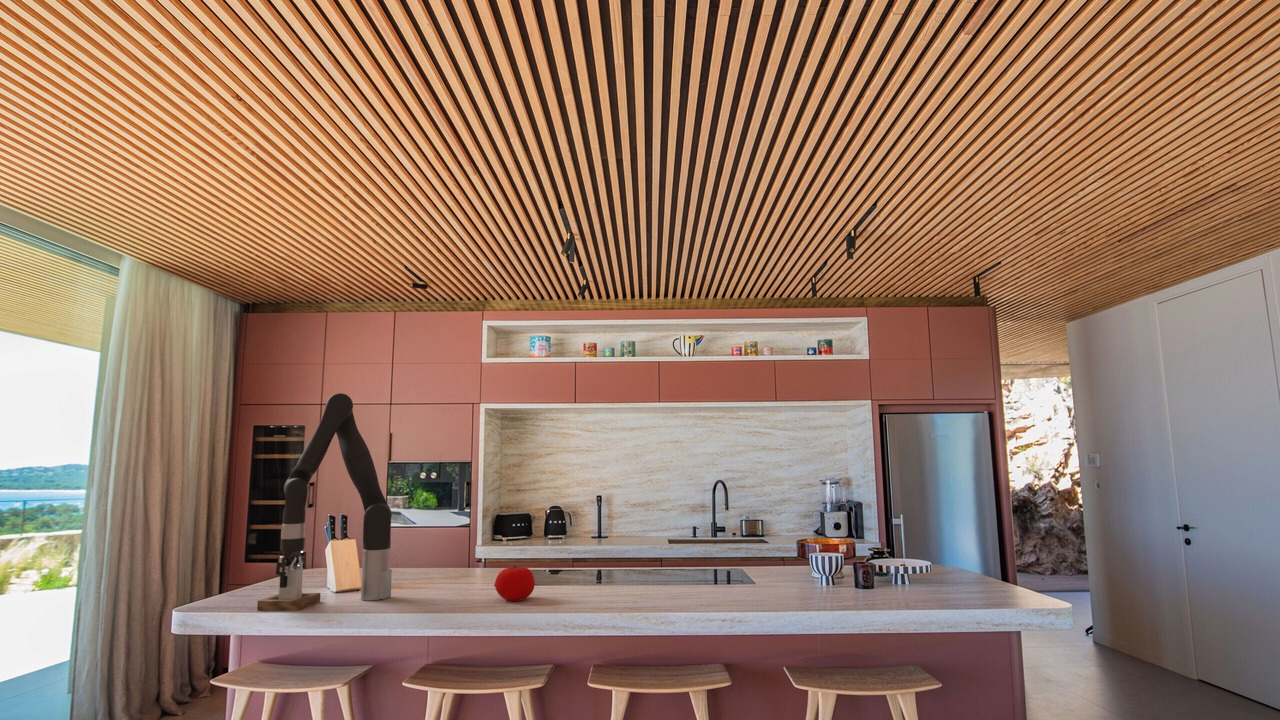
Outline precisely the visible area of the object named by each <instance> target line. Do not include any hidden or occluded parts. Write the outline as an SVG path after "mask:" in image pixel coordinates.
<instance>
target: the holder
mask: <svg viewBox="0 0 1280 720" xmlns="http://www.w3.org/2000/svg"><path fill="white" fill-rule="evenodd" d="M317 602H318V603H320V602H321V592H302V598H300V599H297V600H279V593H277V594H273V595H272V596H271V595H270V596H268V597H266V598H262V599H259V600H257V607H256V610H257V609H258V610H257V611H282V612H283V611H284V612H285V611H289V612H290V611H295V612H296V611H298V612H299V611H300V610H303V609H305V608H308V607H310V605H311V606H313V605H315V603H316V604H317Z"/></svg>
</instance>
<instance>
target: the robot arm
mask: <svg viewBox="0 0 1280 720" xmlns="http://www.w3.org/2000/svg"><path fill="white" fill-rule="evenodd" d="M353 408H354V404H353V400H352V398H351V397H350V396H349V395H348V394H346V393H341V392H338V393H335V394H332V395H331V396H329V397H328V399H327V400H326V402H325V407H324V411H323V415H322V416H321V419H320V421H319V424H318V425H317V427H316V430H315V431H314V434H313V435H312V436H311V438H310V439H309V441H308V442H307V445H306V447H305V448H304V450H303V451H302V454H301V455H300V457H299V459H298V460H297V463H296V465H295V467H294V468H293V469H292V471H291V473H290V474H289V476H288V478H287V480H286V481H285V483H284V486H283V493H284V496H285V499H284V508H283V513H282V526H281V530H280V546H279V547H280V552H283V555H282V556H277V557H276V571H275V575H276V576H279V581H280V588H286V587H287V581H288V576H287V575H288V573H289V571H290V570H291V569H303V570H305V569H306V568H307V551H304V550H305V547H306V546H305V545H306V504H307V500H308V499H307V498H308V491H309V490H308V485H309V483H310V481H311V479H312V477H313V475H315V473H316V472H317V471H318V469H319V467H320V466H321V464H322V462H323V460H324V458H325V456H326V454H327V452H328V450H329V448H330V445H331V442H332V440H333V438H334V436H335V435H336V436H337V440H338V445H339V449H340V453H341V456H342V459H343V462H344V466H345V468H346V471H347V473H348V474H347V475H349V478H350V480H351V482H352V484H353V485H354V486H355V489H356V490H357V492H358V494H359V496H360V500H361V503H362V506H363V510H364V511H363V512H364V514H363V525H362V526H363V527H362V529H363V530H362V563H361V564H362V568H361V569H362V570H361V586H360V587H361V592H360V600H362V601H380V600H379V599H384V600H385V598H386V599H388V598H390V597H391V596H392V578H393V577H392V575H393V572H392V569H391V568H390V567H391V543H392V542H391V540H392V539H391V535H392V534H391V532H392V529H391V528H392V516H393V514H392V509H391V508H390V506H389V504H388V502H387V500H386V498H385V496H384V494H383V492H382V489H381V487H380V483H379V478H378V473H377V470H376V468H375V463H374V461H373V457H372V454H371V453H370V450H369V447H368V445H367V444H366V442H365V440H364V438H363V436H362V434H361V433H360V431H359V429H358V427H357V424H356V420H355V416H354V411H353ZM285 570H286V572H285ZM389 596H390V597H389ZM387 597H388V598H387Z"/></svg>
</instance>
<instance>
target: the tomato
mask: <svg viewBox="0 0 1280 720" xmlns="http://www.w3.org/2000/svg"><path fill="white" fill-rule="evenodd" d="M535 582H536V581H535V576H534V574H533V572H532V571H531V570H530V568H528V567H525V566H522V565H521V566H518V565H516V564H514V565H513V566H509V567H506V568H503V569H502V570H501V571H500V572H499V573H498V574H497V576H496V579H495V582H494V589H495V590H496V592H497V594H498V596H499V597H500V598H502V599H504V600H506V601H510V602H516V601H523V600H524V599H527V598H528V597H529V596H531V594H533V591H534V589H535Z"/></svg>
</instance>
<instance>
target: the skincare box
mask: <svg viewBox="0 0 1280 720" xmlns="http://www.w3.org/2000/svg"><path fill="white" fill-rule="evenodd" d="M303 571H304V569H294V568H292V569H291V570H290V571H289V573H288V575H287V576H288V581H287V587H286V588H280V580H279V585H278V587H279V588H278V594H279V600H297V599H300V598H302V593H303V592H302V591H303V575H304V574H303V573H304V572H303ZM285 572H286V570H285Z"/></svg>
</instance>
